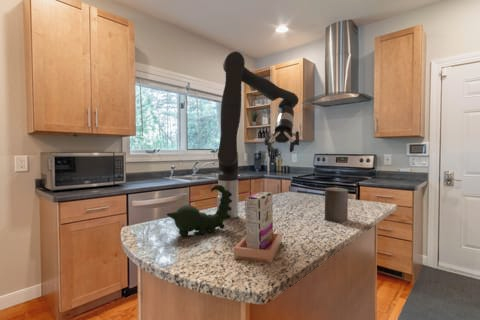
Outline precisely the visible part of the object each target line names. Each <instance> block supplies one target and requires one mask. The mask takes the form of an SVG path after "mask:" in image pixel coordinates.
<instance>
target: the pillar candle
mask: <svg viewBox="0 0 480 320" xmlns="http://www.w3.org/2000/svg"><path fill="white" fill-rule="evenodd" d="M348 201H349V190H348V189H347V188H342V187H326V188H325V189H324V220H326V221H328V222H331V223H345V222H348V210H349V209H348V208H349V207H348V206H349V204H348V203H349V202H348Z"/></svg>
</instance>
